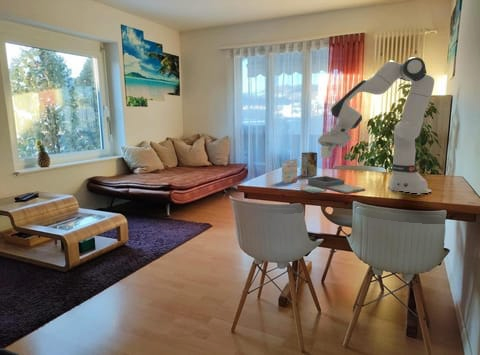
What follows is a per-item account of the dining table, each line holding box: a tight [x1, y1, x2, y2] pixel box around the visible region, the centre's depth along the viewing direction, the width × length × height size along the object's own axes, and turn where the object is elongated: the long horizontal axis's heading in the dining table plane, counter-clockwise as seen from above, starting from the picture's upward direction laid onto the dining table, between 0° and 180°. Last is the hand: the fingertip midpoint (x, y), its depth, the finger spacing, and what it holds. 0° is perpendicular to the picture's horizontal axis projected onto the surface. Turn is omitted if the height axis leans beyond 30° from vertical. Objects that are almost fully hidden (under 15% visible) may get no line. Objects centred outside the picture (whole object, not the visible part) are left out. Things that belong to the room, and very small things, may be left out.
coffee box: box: [300, 151, 318, 177], centre depth 236 cm, size 9×6×16 cm
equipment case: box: [307, 175, 366, 194], centre depth 200 cm, size 30×15×4 cm, turn 32°
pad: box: [300, 186, 327, 194], centre depth 192 cm, size 10×10×1 cm
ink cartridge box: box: [281, 158, 298, 184], centre depth 214 cm, size 9×5×15 cm, turn 112°
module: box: [320, 143, 333, 159], centre depth 202 cm, size 4×4×8 cm
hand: (325, 150), depth 201 cm, fingers closed on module, 4 cm apart
